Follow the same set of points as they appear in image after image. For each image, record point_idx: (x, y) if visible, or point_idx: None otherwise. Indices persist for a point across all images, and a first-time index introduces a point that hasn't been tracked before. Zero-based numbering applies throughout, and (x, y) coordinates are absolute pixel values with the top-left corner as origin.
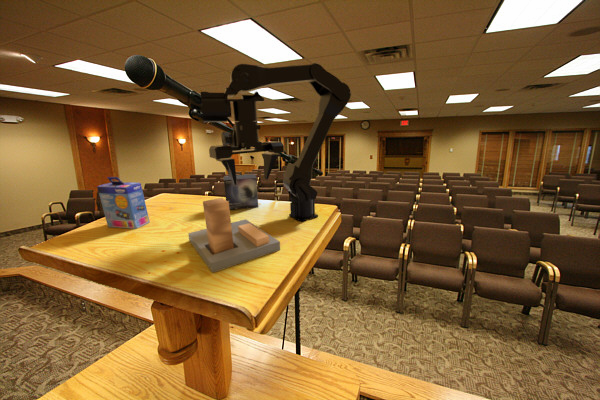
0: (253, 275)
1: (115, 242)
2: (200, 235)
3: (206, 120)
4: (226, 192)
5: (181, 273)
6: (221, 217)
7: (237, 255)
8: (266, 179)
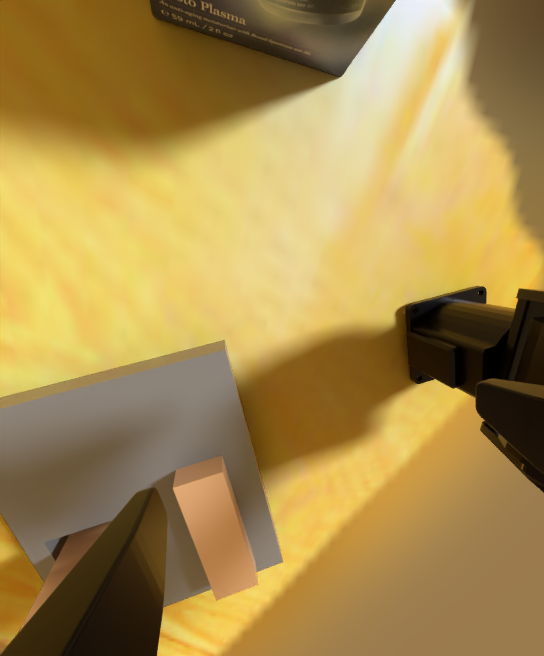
0: (188, 621)
1: None
2: (14, 462)
3: None
4: None
5: (2, 597)
6: None
7: None
8: (479, 412)
